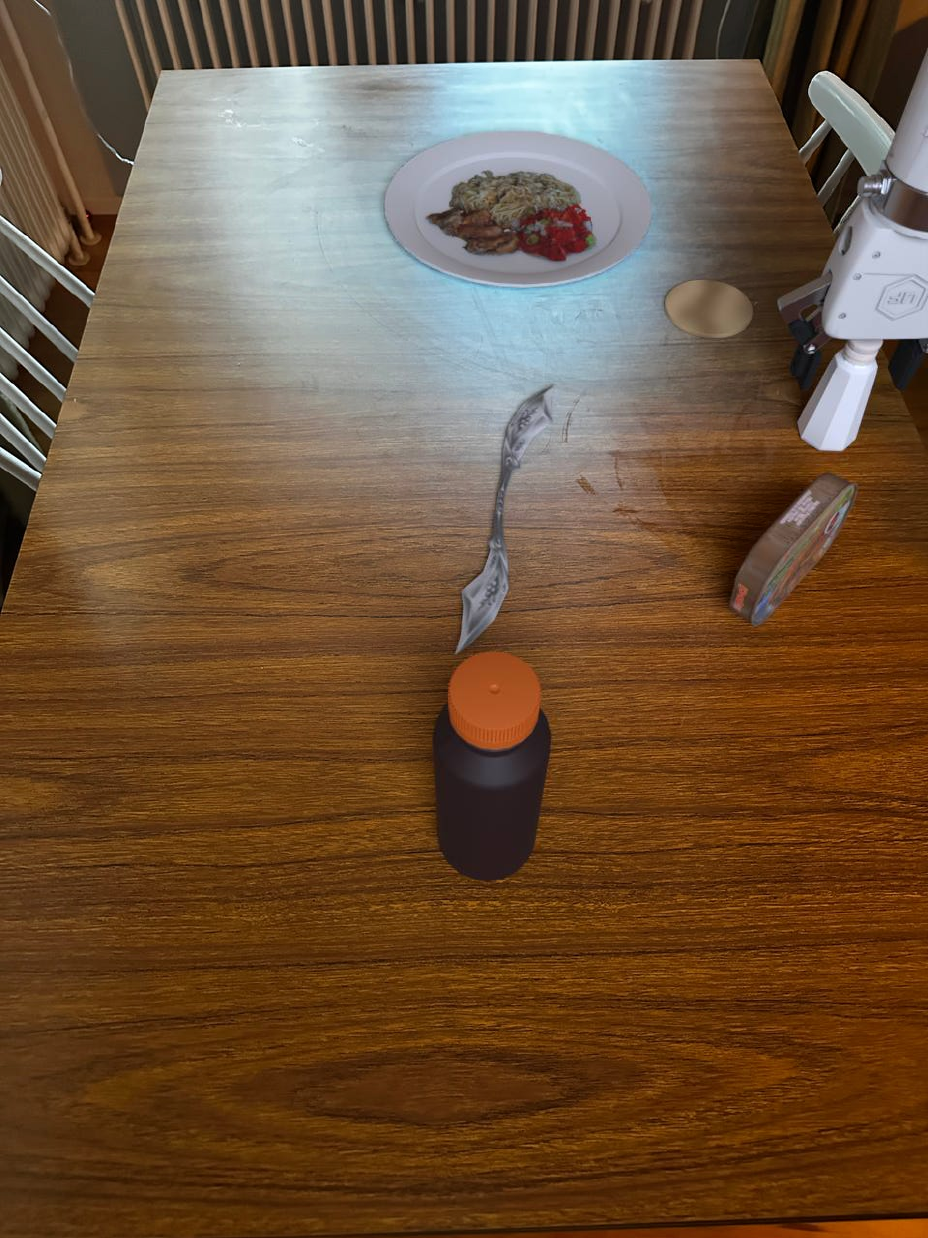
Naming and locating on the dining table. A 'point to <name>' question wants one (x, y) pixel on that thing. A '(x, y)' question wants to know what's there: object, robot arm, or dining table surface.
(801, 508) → the tin
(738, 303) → the cork coaster
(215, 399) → the dining table surface
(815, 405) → the pepper shaker
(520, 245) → the plated food
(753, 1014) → the dining table surface
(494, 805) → the bottle
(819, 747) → the dining table surface
